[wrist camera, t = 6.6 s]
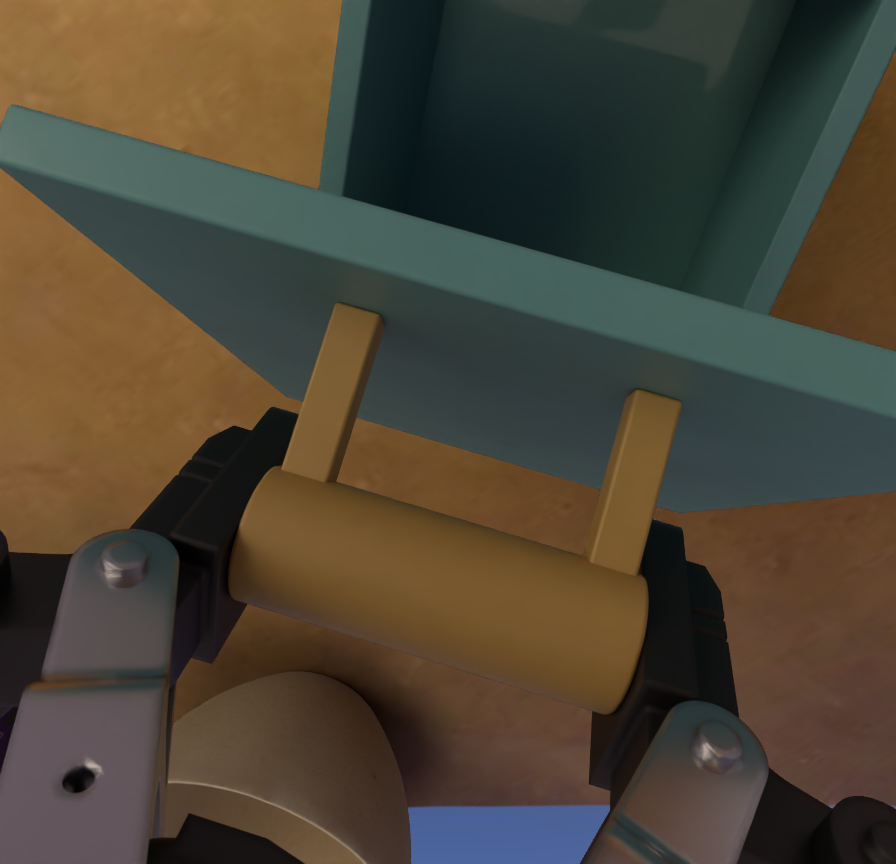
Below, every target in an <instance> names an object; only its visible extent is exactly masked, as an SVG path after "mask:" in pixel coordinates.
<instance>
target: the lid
mask: <svg viewBox="0 0 896 864" xmlns="http://www.w3.org/2000/svg"><path fill="white" fill-rule="evenodd" d="M0 168H1V169H3V170H4V171H5V172H6V173H8V174H9V175H10V176H11V177H13V178H14V179H15V180H16V181H18V182H19V183H20V184H21V185H23V186H24V187H25V188H26V189H28V190H29V191H30V192H31V193H33V194H34V195H35V196H36V197H38V198H39V199H40V200H41V201H43V202H44V203H45V204H46V205H48V206H49V207H50V208H51V209H53V210H54V211H55V212H56V213H58V214H59V215H60V216H61V217H63V218H64V219H65V220H66V221H68V222H69V223H70V224H71V225H73V226H74V227H75V228H76V229H78V230H79V231H80V232H81V233H83V234H84V235H85V236H86V237H88V238H89V239H90V240H91V241H93V242H94V243H95V244H96V245H98V246H99V247H100V248H101V249H103V250H104V251H105V252H106V253H108V254H109V255H110V256H111V257H113V258H114V259H115V260H116V261H118V262H119V263H120V264H121V265H123V266H124V267H125V268H126V269H128V270H129V271H130V272H131V273H133V274H134V275H135V276H136V277H138V278H139V279H140V280H141V281H143V282H144V283H145V284H146V285H148V286H149V287H150V288H151V289H153V290H154V291H155V292H156V293H158V294H159V295H160V296H161V297H163V298H164V299H165V300H166V301H168V302H169V303H170V304H171V305H173V306H174V307H175V308H176V309H178V310H179V311H180V312H181V313H183V314H184V315H185V316H186V317H188V318H189V319H190V320H191V321H193V322H194V323H195V324H196V325H198V326H199V327H200V328H201V329H203V330H204V331H205V332H206V333H208V334H209V335H210V336H211V337H213V338H214V339H215V340H216V341H218V342H219V343H220V344H221V345H223V346H224V347H225V348H226V349H228V350H229V351H230V352H231V353H232V354H234V355H235V356H236V357H237V358H239V359H240V360H241V361H242V362H244V363H245V364H246V365H247V366H249V367H250V368H251V369H252V370H254V371H255V372H256V373H257V374H259V375H260V376H261V377H262V378H264V379H265V380H266V381H267V382H269V383H270V384H271V385H272V386H274V387H275V388H276V389H277V390H279V391H280V392H281V393H282V394H284V395H285V396H286V397H289V398H292V399H295V400H299V401H302V402H303V403H302V406H301V410H300V413H299V416H298V419H297V422H296V425H295V428H294V431H293V434H292V437H291V440H290V443H289V446H288V449H287V452H286V455H285V458H284V461H283V464H282V466H275V467H273V468H271V469H270V470H269V471H268V472H267V473H266V474H265V475H264V477H263V478H262V479H261V481H260V482H259V484H258V485H257V487H256V489H255V490H254V492H253V494H252V496H251V498H250V500H249V502H248V504H247V506H246V508H245V511H244V513H243V516H242V518H241V521H240V523H239V526H238V529H237V532H236V535H235V539H234V542H233V546H232V550H231V554H230V560H229V566H228V577H227V587H228V592H229V594H230V596H231V597H232V598H233V599H235V600H237V601H240V602H243V603H247V604H250V605H253V606H256V607H259V608H263V609H266V610H269V611H272V612H275V613H279V614H282V615H285V616H288V617H292V618H295V619H298V620H301V621H304V622H308V623H311V624H314V625H317V626H320V627H324V628H327V629H330V630H333V631H337V632H340V633H343V634H346V635H349V636H353V637H356V638H359V639H362V640H365V641H369V642H372V643H375V644H378V645H382V646H385V647H388V648H391V649H394V650H398V651H401V652H404V653H407V654H410V655H414V656H417V657H420V658H423V659H427V660H430V661H433V662H436V663H439V664H443V665H446V666H449V667H452V668H455V669H459V670H462V671H465V672H468V673H472V674H475V675H478V676H481V677H484V678H488V679H491V680H494V681H497V682H500V683H504V684H507V685H510V686H513V687H517V688H520V689H523V690H526V691H529V692H533V693H536V694H539V695H542V696H545V697H549V698H552V699H555V700H558V701H562V702H565V703H568V704H571V705H574V706H578V707H581V708H584V709H587V710H590V711H594V712H597V713H600V714H604V715H606V714H612V713H613V712H615V711H616V710H617V708H618V707H619V706H620V704H621V703H622V701H623V699H624V698H625V696H626V694H627V692H628V690H629V688H630V685H631V683H632V680H633V678H634V675H635V672H636V669H637V666H638V662H639V659H640V655H641V651H642V647H643V643H644V638H645V633H646V627H647V620H648V608H649V596H648V586H647V582H646V579H645V578H644V577H643V576H642V575H641V574H640V573H638V572H639V568H640V564H641V560H642V556H643V553H644V549H645V545H646V541H647V537H648V534H649V530H650V526H651V522H652V518H653V515H654V511H655V507H656V506H657V507H661V508H664V509H668V510H671V511H674V512H678V513H685V512H695V511H705V510H715V509H725V508H735V507H745V506H755V505H765V504H775V503H785V502H795V501H805V500H815V499H825V498H835V497H845V496H855V495H865V494H875V493H885V492H895V491H896V351H893V350H889V349H886V348H882V347H879V346H875V345H872V344H868V343H864V342H861V341H857V340H854V339H850V338H847V337H843V336H839V335H836V334H832V333H829V332H825V331H822V330H818V329H814V328H811V327H807V326H804V325H800V324H797V323H793V322H789V321H786V320H782V319H779V318H775V317H772V316H768V315H764V314H761V313H757V312H754V311H750V310H747V309H743V308H739V307H736V306H732V305H729V304H725V303H722V302H718V301H714V300H711V299H707V298H704V297H700V296H697V295H693V294H689V293H686V292H682V291H679V290H675V289H672V288H668V287H664V286H661V285H657V284H654V283H650V282H647V281H643V280H639V279H636V278H632V277H629V276H625V275H622V274H618V273H614V272H611V271H607V270H604V269H600V268H597V267H593V266H589V265H586V264H582V263H579V262H575V261H572V260H568V259H564V258H561V257H557V256H554V255H550V254H547V253H543V252H539V251H536V250H532V249H529V248H525V247H522V246H518V245H514V244H511V243H507V242H504V241H500V240H497V239H493V238H489V237H486V236H482V235H479V234H475V233H472V232H468V231H464V230H461V229H457V228H454V227H450V226H447V225H443V224H440V223H436V222H432V221H429V220H425V219H422V218H418V217H415V216H411V215H407V214H404V213H400V212H397V211H393V210H390V209H386V208H382V207H379V206H375V205H372V204H368V203H365V202H361V201H357V200H354V199H350V198H347V197H343V196H340V195H336V194H332V193H329V192H325V191H322V190H318V189H315V188H311V187H307V186H304V185H300V184H297V183H293V182H290V181H286V180H282V179H279V178H275V177H272V176H268V175H265V174H261V173H257V172H254V171H250V170H247V169H243V168H240V167H236V166H232V165H229V164H225V163H222V162H218V161H215V160H211V159H207V158H204V157H200V156H197V155H193V154H190V153H186V152H182V151H179V150H175V149H172V148H168V147H165V146H161V145H157V144H154V143H150V142H147V141H143V140H140V139H136V138H132V137H129V136H125V135H122V134H118V133H115V132H111V131H107V130H104V129H100V128H97V127H93V126H90V125H86V124H82V123H79V122H75V121H72V120H68V119H65V118H61V117H57V116H54V115H50V114H47V113H43V112H40V111H36V110H32V109H29V108H25V107H22V106H18V105H11V106H10V107H9V108H8V110H7V112H6V115H5V117H4V120H3V122H2V125H1V127H0ZM356 418H360V419H363V420H366V421H370V422H373V423H377V424H380V425H383V426H387V427H390V428H393V429H397V430H400V431H404V432H407V433H410V434H414V435H417V436H421V437H424V438H427V439H431V440H434V441H437V442H441V443H444V444H448V445H451V446H454V447H458V448H461V449H465V450H468V451H471V452H475V453H478V454H481V455H485V456H488V457H492V458H495V459H498V460H502V461H505V462H509V463H512V464H515V465H519V466H522V467H525V468H529V469H532V470H536V471H539V472H542V473H546V474H549V475H553V476H556V477H559V478H563V479H566V480H569V481H573V482H576V483H580V484H583V485H586V486H590V487H593V488H597V489H600V490H601V492H600V496H599V499H598V503H597V507H596V510H595V514H594V518H593V521H592V525H591V529H590V532H589V536H588V540H587V543H586V547H585V551H584V554H583V556H581V555H578V554H575V553H571V552H568V551H565V550H561V549H558V548H555V547H551V546H548V545H545V544H541V543H538V542H535V541H531V540H528V539H525V538H521V537H518V536H515V535H511V534H508V533H505V532H501V531H498V530H495V529H491V528H488V527H485V526H481V525H478V524H475V523H471V522H468V521H465V520H461V519H458V518H455V517H451V516H448V515H445V514H441V513H438V512H435V511H431V510H428V509H425V508H421V507H418V506H415V505H411V504H408V503H405V502H401V501H398V500H395V499H391V498H388V497H385V496H382V495H378V494H375V493H372V492H368V491H365V490H362V489H358V488H355V487H352V486H348V485H345V484H342V483H338V482H336V480H337V477H338V473H339V470H340V467H341V464H342V461H343V458H344V455H345V451H346V448H347V445H348V442H349V439H350V436H351V433H352V429H353V426H354V423H355V420H356Z"/></svg>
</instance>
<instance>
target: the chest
mask: <svg viewBox="0 0 896 864" xmlns="http://www.w3.org/2000/svg"><path fill="white" fill-rule="evenodd" d="M895 50H896V0H343V1H342V8H341V16H340V24H339V32H338V40H337V48H336V56H335V63H334V71H333V79H332V87H331V95H330V103H329V111H328V119H327V126H326V134H325V142H324V150H323V158H322V166H321V174H320V182H319V189H318V190H322V191H325V192H329V193H332V194H336V195H340V196H343V197H347V198H350V199H354V200H357V201H361V202H365V203H368V204H372V205H375V206H379V207H382V208H386V209H390V210H393V211H397V212H400V213H404V214H407V215H411V216H415V217H418V218H422V219H425V220H429V221H432V222H436V223H440V224H443V225H447V226H450V227H454V228H457V229H461V230H464V231H468V232H472V233H475V234H479V235H482V236H486V237H489V238H493V239H497V240H500V241H504V242H507V243H511V244H514V245H518V246H522V247H525V248H529V249H532V250H536V251H539V252H543V253H547V254H550V255H554V256H557V257H561V258H564V259H568V260H572V261H575V262H579V263H582V264H586V265H589V266H593V267H597V268H600V269H604V270H607V271H611V272H614V273H618V274H622V275H625V276H629V277H632V278H636V279H639V280H643V281H647V282H650V283H654V284H657V285H661V286H664V287H668V288H672V289H675V290H679V291H682V292H686V293H689V294H693V295H697V296H700V297H704V298H707V299H711V300H714V301H718V302H722V303H725V304H729V305H732V306H736V307H739V308H743V309H747V310H750V311H754V312H757V313H761V314H764V315H769V313H770V311H771V309H772V307H773V305H774V302H775V300H776V298H777V296H778V294H779V292H780V290H781V288H782V286H783V284H784V282H785V280H786V277H787V275H788V273H789V271H790V269H791V267H792V265H793V263H794V261H795V259H796V257H797V255H798V252H799V250H800V248H801V246H802V244H803V242H804V240H805V238H806V236H807V234H808V232H809V229H810V227H811V225H812V223H813V221H814V219H815V217H816V215H817V213H818V211H819V209H820V207H821V204H822V202H823V200H824V198H825V196H826V194H827V192H828V190H829V188H830V186H831V184H832V182H833V179H834V177H835V175H836V173H837V171H838V169H839V167H840V165H841V163H842V161H843V159H844V156H845V154H846V152H847V150H848V148H849V146H850V144H851V142H852V140H853V138H854V136H855V134H856V131H857V129H858V127H859V125H860V123H861V121H862V119H863V117H864V115H865V113H866V111H867V109H868V106H869V104H870V102H871V100H872V98H873V96H874V94H875V92H876V90H877V88H878V86H879V83H880V81H881V79H882V77H883V75H884V73H885V71H886V69H887V67H888V65H889V63H890V61H891V58H892V56H893V54H894V52H895Z"/></svg>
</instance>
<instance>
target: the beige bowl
mask: <svg viewBox="0 0 896 864" xmlns="http://www.w3.org/2000/svg"><path fill="white" fill-rule="evenodd" d="M189 813H191V814H194V815H197V816H200V817H203V818H206V819H209V820H212V821H215V822H218V823H221V824H224V825H228V826H231V827H234V828H237V829H240V830H243V831H246V832H249V833H252V834H255V835H258V836H261V837H264V838H267V839H269V840H270V841H272V842H273V843H275V844H276V845H278V846H279V847H281V848H282V849H284V850H285V851H287V852H288V853H290V854H291V855H293V856H294V857H296V858H297V859H299V860H300V861H302V862H303V863H305V864H411V837H410V823H409V814H408V807H407V801H406V795H405V790H404V786H403V782H402V778H401V774H400V771H399V768H398V765H397V762H396V759H395V756H394V754H393V751H392V748H391V746H390V744H389V742H388V739H387V737H386V735H385V733H384V731H383V729H382V727H381V725H380V723H379V721H378V719H377V718H376V716H375V714H374V712H373V711H372V709H371V708H370V707H369V705H368V704H367V703H366V702H365V701H364V700H363V698H362V697H360V696H359V695H358V694H357V693H356V692H355V691H354V690H352V689H351V688H349V687H348V686H346V685H345V684H343V683H341V682H339V681H337V680H335V679H333V678H330V677H328V676H325V675H321V674H317V673H313V672H305V671H291V672H283V673H277V674H273V675H269V676H265V677H261V678H258V679H255V680H252V681H249V682H246V683H244V684H241V685H238V686H236V687H233V688H231V689H229V690H226V691H224V692H222V693H220V694H218V695H216V696H214V697H213V698H211V699H209V700H207V701H206V702H204V703H202V704H201V705H199V706H197V707H196V708H194V709H193V710H191V711H190V712H189V713H187V714H186V715H184V716H183V717H181V718H180V719H179V720H178V721H176V722H175V723H174V724H173V732H172V744H171V755H170V767H169V778H168V789H167V802H166V816H165V835H164V837H169V838H176V837H177V835H178V833H179V831H180V829H181V827H182V825H183V823H184V821H185V819H186V817H187V815H188V814H189Z"/></svg>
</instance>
